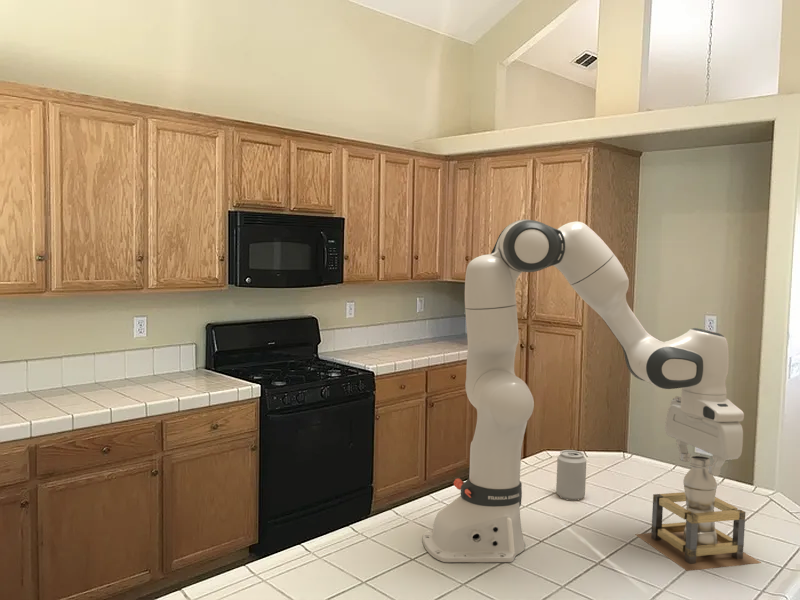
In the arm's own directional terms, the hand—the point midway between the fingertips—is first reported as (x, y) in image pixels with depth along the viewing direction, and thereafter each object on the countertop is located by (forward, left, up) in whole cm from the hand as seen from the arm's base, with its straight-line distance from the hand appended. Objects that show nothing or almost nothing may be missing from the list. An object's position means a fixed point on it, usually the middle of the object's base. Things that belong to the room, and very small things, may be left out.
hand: (698, 467), depth 144 cm
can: (-10, +37, -19) cm, 43 cm away
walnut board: (0, 0, -19) cm, 19 cm away
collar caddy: (0, 0, -18) cm, 18 cm away
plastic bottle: (0, -2, -18) cm, 18 cm away
